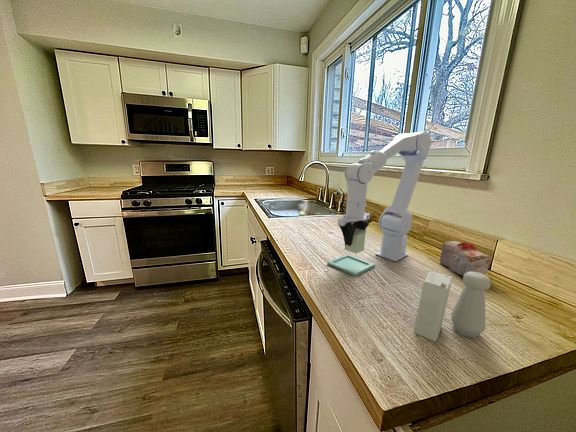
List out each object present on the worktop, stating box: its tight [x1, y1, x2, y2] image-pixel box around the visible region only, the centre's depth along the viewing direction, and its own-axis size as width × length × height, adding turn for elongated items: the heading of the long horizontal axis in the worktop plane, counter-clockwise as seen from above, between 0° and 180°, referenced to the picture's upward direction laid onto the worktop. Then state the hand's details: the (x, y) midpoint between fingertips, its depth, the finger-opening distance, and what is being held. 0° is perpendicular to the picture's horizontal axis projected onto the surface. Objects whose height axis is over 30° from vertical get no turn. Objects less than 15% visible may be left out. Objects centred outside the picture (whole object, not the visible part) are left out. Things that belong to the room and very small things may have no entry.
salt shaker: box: [450, 272, 492, 339], centre depth 48 cm, size 6×6×13 cm
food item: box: [439, 240, 492, 278], centre depth 75 cm, size 14×8×10 cm, turn 4°
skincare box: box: [413, 271, 453, 342], centre depth 48 cm, size 6×4×12 cm
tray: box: [326, 253, 376, 278], centre depth 79 cm, size 11×11×1 cm
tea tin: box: [344, 228, 367, 254], centre depth 77 cm, size 5×5×7 cm
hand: (352, 243), depth 78 cm, fingers closed on tea tin, 4 cm apart
